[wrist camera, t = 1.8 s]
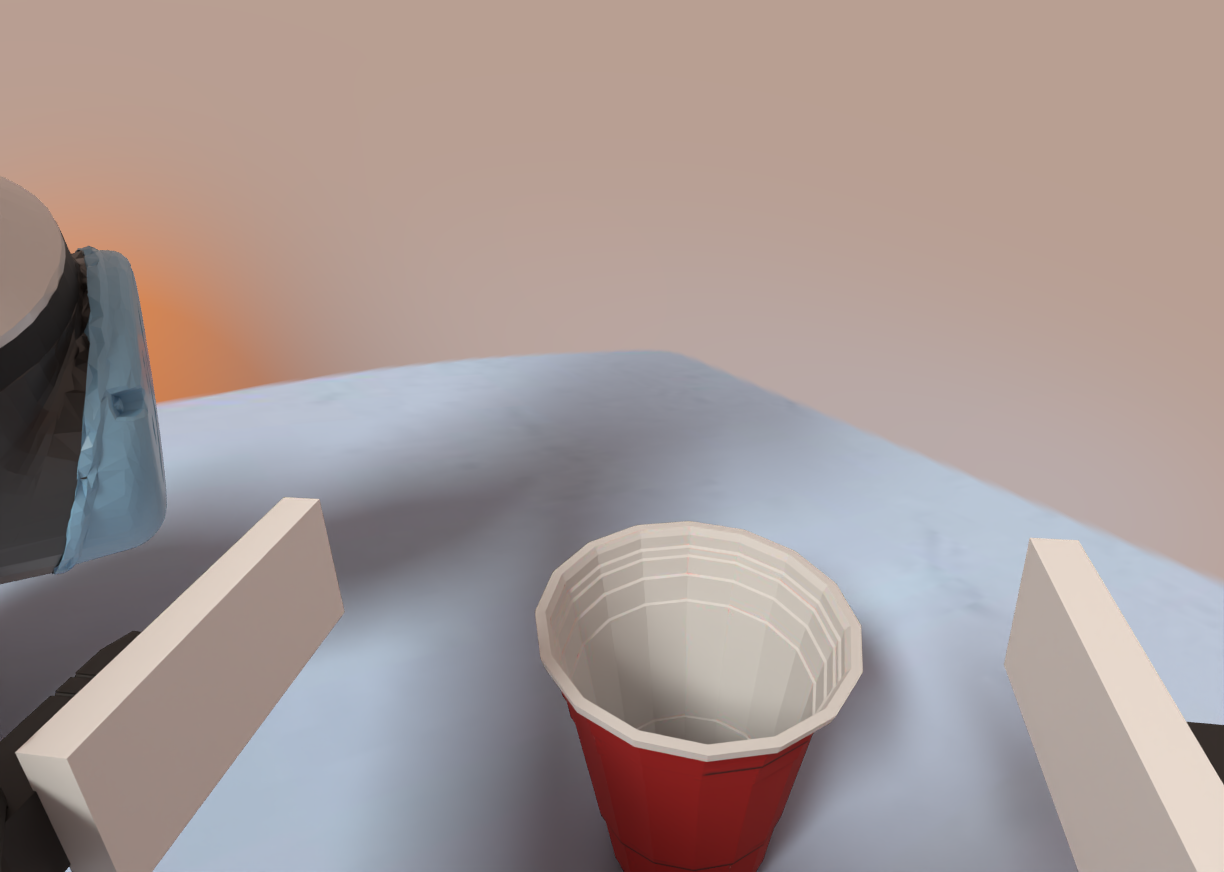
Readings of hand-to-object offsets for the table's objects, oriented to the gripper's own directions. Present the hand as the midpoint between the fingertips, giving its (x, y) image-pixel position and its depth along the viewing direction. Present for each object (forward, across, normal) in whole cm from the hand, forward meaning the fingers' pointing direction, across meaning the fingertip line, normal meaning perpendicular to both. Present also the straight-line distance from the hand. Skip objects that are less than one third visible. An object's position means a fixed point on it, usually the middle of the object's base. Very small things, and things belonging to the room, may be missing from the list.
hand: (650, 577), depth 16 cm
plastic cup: (+10, 0, -20) cm, 22 cm away
